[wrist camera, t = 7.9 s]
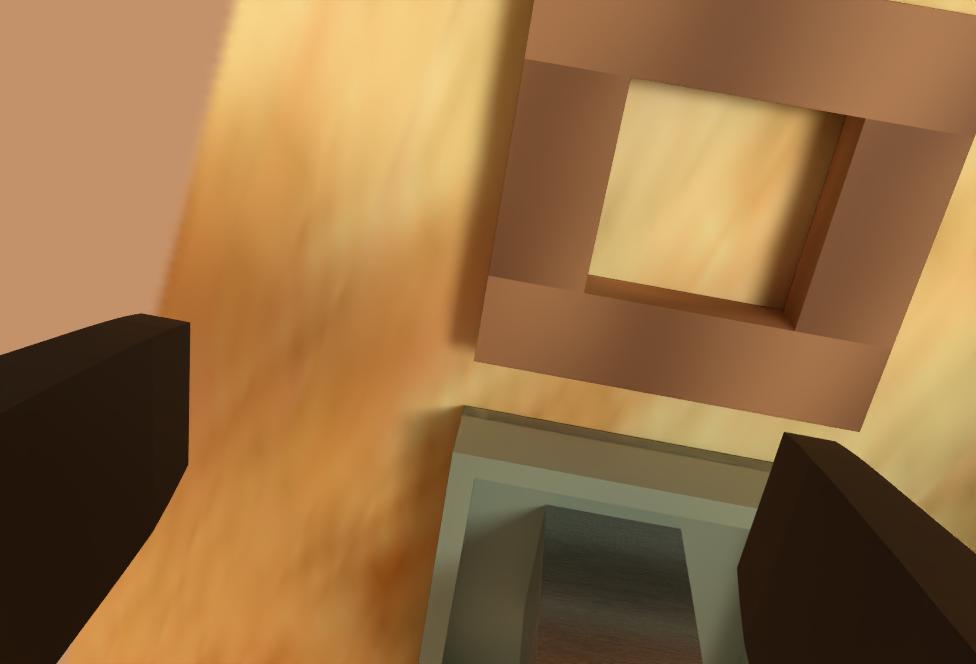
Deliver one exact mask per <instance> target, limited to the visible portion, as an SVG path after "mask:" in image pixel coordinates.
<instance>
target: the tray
mask: <svg viewBox="0 0 976 664" xmlns="http://www.w3.org/2000/svg"><path fill="white" fill-rule="evenodd" d="M772 465H773V463H771V462H766V461H760V460H755V459H750V458H744V457H739V456H733V455H728V454H723V453H717V452H712V451H706V450H701V449H696V448H690V447H685V446H679V445H674V444H669V443H663V442H658V441H653V440H647V439H642V438H636V437H631V436H626V435H620V434H615V433H609V432H604V431H599V430H593V429H588V428H582V427H577V426H572V425H566V424H561V423H555V422H550V421H545V420H539V419H534V418H528V417H523V416H518V415H512V414H507V413H501V412H496V411H491V410H485V409H480V408H474V407H469V406H464V409H463V413H462V417H461V421H460V425H459V429H458V433H457V437H456V441H455V445H454V449H453V454H452V460H451V466H450V472H449V478H448V484H447V490H446V497H445V503H444V509H443V515H442V521H441V527H440V533H439V539H438V545H437V552H436V558H435V564H434V570H433V576H432V582H431V588H430V594H429V601H428V607H427V613H426V619H425V625H424V631H423V637H422V643H421V650H420V656H419V662H418V664H519V663H520V652H521V640H522V629H523V617H524V607H525V603H526V598H527V593H528V589H529V584H530V579H531V574H532V570H533V565H534V560H535V556H536V551H537V546H538V541H539V537H540V532H541V527H542V523H543V518H544V513H545V509H546V505H552V506H557V507H563V508H568V509H574V510H579V511H585V512H590V513H596V514H602V515H607V516H613V517H618V518H624V519H629V520H635V521H640V522H646V523H651V524H657V525H662V526H668V527H674V528H679V529H681V532H682V538H683V544H684V550H685V556H686V563H687V569H688V575H689V581H690V587H691V593H692V599H693V605H694V611H695V617H696V623H697V629H698V635H699V641H700V648H701V654H702V660H703V664H749V662H748V658H747V653H746V649H745V645H744V637H743V629H742V620H741V611H740V600H739V588H738V576H737V566H738V563H739V560H740V558H741V555H742V552H743V549H744V546H745V543H746V540H747V537H748V534H749V532H750V529H751V526H752V523H753V520H754V517H755V514H756V511H757V509H758V506H759V503H760V500H761V497H762V494H763V491H764V488H765V486H766V483H767V480H768V477H769V474H770V471H771V468H772Z"/></svg>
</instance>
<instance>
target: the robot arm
mask: <svg viewBox="0 0 976 664" xmlns="http://www.w3.org/2000/svg"><path fill="white" fill-rule="evenodd" d="M189 375H190V322H185V321H179V320H174V319H169V318H163V317H158V316H152V315H147V314H142V313H141V314H135V315H130V316H125V317H121V318H117V319H114V320H110V321H106V322H103V323H99V324H96V325H93V326H89V327H86V328H83V329H80V330H77V331H74V332H70V333H68V334H64V335H61V336H58V337H55V338H52V339H49V340H46V341H43V342H40V343H37V344H34V345H31V346H27V347H24V348H21V349H19V350H15V351H13V352H9V353H6V354H3V355H0V664H56V663H57V662H58V661H59V659H60V658H61V657H62V655H63V654H64V653H65V651H66V650H67V649H68V647H69V646H70V644H71V643H72V642H73V640H74V639H75V638H76V636H77V635H78V634H79V632H80V631H81V630H82V628H83V627H84V625H85V624H86V623H87V621H88V620H89V619H90V617H91V616H92V615H93V613H94V612H95V611H96V609H97V608H98V607H99V605H100V604H101V602H102V601H103V600H104V598H105V597H106V596H107V594H108V593H109V592H110V590H111V589H112V588H113V586H114V585H115V584H116V582H117V581H118V579H119V578H120V577H121V575H122V574H123V573H124V571H125V570H126V568H127V567H128V566H129V564H130V563H131V561H132V560H133V559H134V557H135V556H136V555H137V553H138V552H139V550H140V549H141V548H142V546H143V545H144V543H145V542H146V541H147V539H148V538H149V536H150V535H151V533H152V532H153V531H154V529H155V527H156V525H157V523H158V522H159V520H160V518H161V516H162V514H163V512H164V511H165V509H166V507H167V505H168V503H169V502H170V500H171V498H172V496H173V494H174V492H175V490H176V488H177V486H178V484H179V482H180V480H181V478H182V476H183V474H184V472H185V470H186V468H187V466H188V449H189ZM737 576H738V588H739V600H740V611H741V620H742V629H743V637H744V645H745V649H746V653H747V658H748V662H749V664H976V554H975V553H974V552H973V551H972V550H970V549H969V548H968V547H967V546H966V545H964V544H963V543H962V542H961V541H959V540H958V539H957V538H956V537H954V536H953V535H952V534H951V533H950V532H948V531H947V530H946V529H945V528H944V527H942V526H941V525H940V524H939V523H938V522H936V521H935V520H934V519H933V518H932V517H930V516H929V515H928V514H927V513H926V512H924V511H923V510H922V509H921V508H920V507H918V506H917V505H916V504H915V503H914V502H912V501H911V500H910V499H909V498H908V497H906V496H905V495H904V494H903V493H902V492H901V491H899V490H898V489H897V488H896V487H895V486H893V485H892V484H891V483H890V482H889V481H887V480H886V479H885V478H884V477H883V476H881V475H880V474H879V473H878V472H876V471H875V470H874V469H873V468H871V467H870V466H869V465H868V464H867V463H865V462H864V461H863V460H861V459H860V458H859V457H858V456H856V455H855V454H854V453H852V452H851V451H849V450H848V449H847V448H845V447H843V446H842V445H840V444H839V443H837V442H836V441H830V440H825V439H820V438H814V437H809V436H803V435H798V434H792V433H787V432H784V434H783V437H782V439H781V442H780V445H779V448H778V451H777V454H776V457H775V460H774V462H773V465H772V468H771V471H770V474H769V477H768V480H767V483H766V486H765V488H764V491H763V494H762V497H761V500H760V503H759V506H758V509H757V511H756V514H755V517H754V520H753V523H752V526H751V529H750V532H749V534H748V537H747V540H746V543H745V546H744V549H743V552H742V555H741V558H740V560H739V563H738V566H737Z"/></svg>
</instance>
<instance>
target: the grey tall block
mask: <svg viewBox="0 0 976 664" xmlns="http://www.w3.org/2000/svg"><path fill="white" fill-rule="evenodd" d="M519 664H703V660H702V654H701V648H700V641H699V635H698V629H697V623H696V617H695V611H694V605H693V599H692V593H691V587H690V581H689V575H688V569H687V563H686V556H685V550H684V544H683V538H682V532H681V529H679V528H674V527H668V526H662V525H657V524H651V523H646V522H640V521H635V520H629V519H624V518H618V517H613V516H607V515H602V514H596V513H590V512H585V511H579V510H574V509H568V508H563V507H557V506H552V505H546V509H545V513H544V518H543V523H542V527H541V532H540V537H539V541H538V546H537V551H536V556H535V560H534V565H533V570H532V574H531V579H530V584H529V589H528V593H527V598H526V603H525V607H524V617H523V629H522V640H521V652H520V663H519Z"/></svg>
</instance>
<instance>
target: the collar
mask: <svg viewBox="0 0 976 664" xmlns="http://www.w3.org/2000/svg"><path fill="white" fill-rule="evenodd" d="M631 77H633V78H638V79H644V80H650V81H655V82H661V83H667V84H672V85H678V86H684V87H690V88H695V89H701V90H707V91H712V92H718V93H724V94H729V95H735V96H741V97H747V98H752V99H758V100H764V101H769V102H775V103H781V104H786V105H792V106H798V107H804V108H809V109H815V110H821V111H826V112H832V113H838V114H844V115H847V116H846V119H845V122H844V125H843V128H842V131H841V134H840V138H839V141H838V144H837V147H836V150H835V153H834V156H833V159H832V162H831V165H830V168H829V171H828V174H827V178H826V181H825V184H824V187H823V190H822V193H821V196H820V199H819V202H818V205H817V208H816V211H815V215H814V218H813V221H812V224H811V227H810V230H809V233H808V236H807V239H806V242H805V245H804V248H803V251H802V255H801V258H800V261H799V264H798V267H797V270H796V273H795V276H794V279H793V282H792V285H791V288H790V292H789V295H788V298H787V301H786V304H785V307H784V310H780V309H774V308H769V307H763V306H757V305H752V304H746V303H741V302H735V301H730V300H724V299H719V298H713V297H708V296H702V295H697V294H691V293H686V292H680V291H675V290H669V289H664V288H658V287H653V286H647V285H641V284H636V283H630V282H625V281H619V280H614V279H608V278H603V277H597V276H592V275H588V272H589V267H590V263H591V258H592V253H593V249H594V244H595V240H596V235H597V230H598V226H599V221H600V217H601V212H602V208H603V203H604V198H605V194H606V189H607V185H608V180H609V175H610V171H611V166H612V162H613V157H614V152H615V148H616V143H617V139H618V134H619V130H620V125H621V120H622V116H623V111H624V107H625V102H626V97H627V93H628V88H629V84H630V79H631ZM975 134H976V15H970V14H964V13H959V12H953V11H947V10H941V9H935V8H930V7H924V6H918V5H912V4H906V3H901V2H895V1H889V0H534V4H533V10H532V16H531V22H530V28H529V34H528V40H527V46H526V52H525V58H524V64H523V70H522V76H521V82H520V88H519V94H518V100H517V106H516V112H515V118H514V124H513V130H512V136H511V142H510V148H509V154H508V160H507V166H506V172H505V178H504V184H503V190H502V196H501V202H500V208H499V214H498V220H497V226H496V232H495V238H494V244H493V250H492V256H491V262H490V268H489V274H488V280H487V286H486V292H485V298H484V304H483V310H482V316H481V322H480V328H479V334H478V340H477V346H476V352H475V358H474V361H476V362H482V363H487V364H492V365H498V366H503V367H509V368H514V369H520V370H525V371H530V372H536V373H541V374H547V375H552V376H558V377H563V378H569V379H574V380H579V381H585V382H590V383H596V384H601V385H607V386H612V387H617V388H623V389H628V390H634V391H639V392H645V393H650V394H656V395H661V396H666V397H672V398H677V399H683V400H688V401H694V402H699V403H704V404H710V405H715V406H721V407H726V408H732V409H737V410H742V411H748V412H753V413H759V414H764V415H770V416H775V417H781V418H786V419H791V420H797V421H802V422H808V423H813V424H819V425H824V426H829V427H835V428H840V429H846V430H851V431H857V432H860V430H861V427H862V425H863V422H864V419H865V417H866V414H867V412H868V409H869V407H870V404H871V401H872V399H873V396H874V394H875V391H876V389H877V386H878V383H879V381H880V378H881V376H882V373H883V371H884V368H885V365H886V363H887V360H888V358H889V355H890V353H891V350H892V348H893V345H894V342H895V340H896V337H897V335H898V332H899V330H900V327H901V324H902V322H903V319H904V317H905V314H906V312H907V309H908V306H909V304H910V301H911V299H912V296H913V294H914V291H915V288H916V286H917V283H918V281H919V278H920V276H921V273H922V270H923V268H924V265H925V263H926V260H927V258H928V255H929V253H930V250H931V247H932V245H933V242H934V240H935V237H936V235H937V232H938V229H939V227H940V224H941V222H942V219H943V217H944V214H945V211H946V209H947V206H948V204H949V201H950V199H951V196H952V193H953V191H954V188H955V186H956V183H957V181H958V178H959V175H960V173H961V170H962V168H963V165H964V163H965V160H966V158H967V155H968V152H969V150H970V147H971V145H972V142H973V140H974V137H975Z"/></svg>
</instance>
